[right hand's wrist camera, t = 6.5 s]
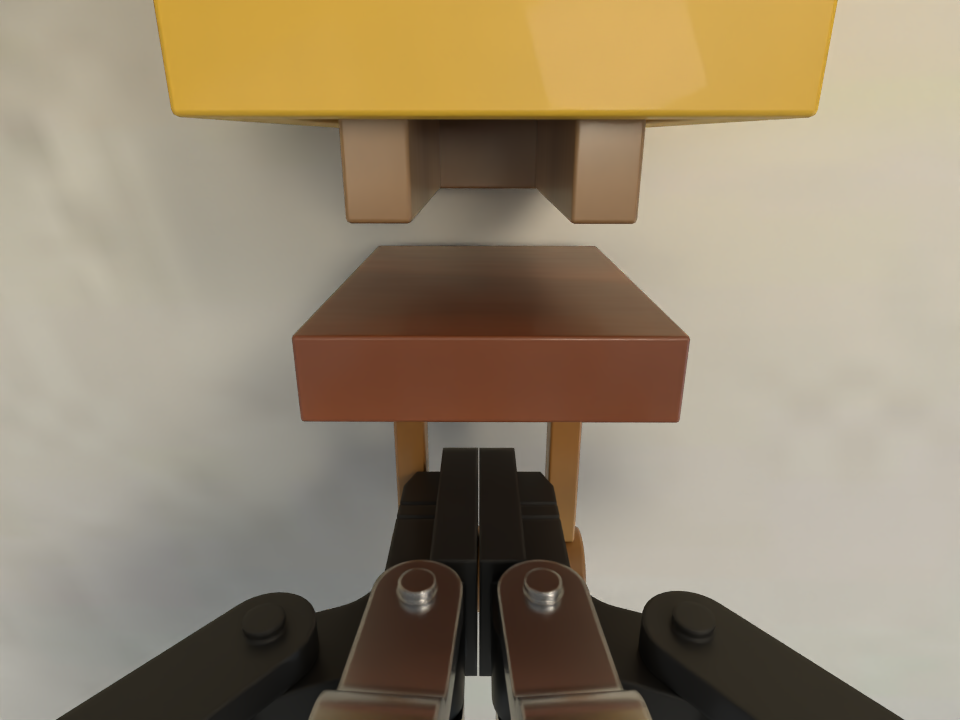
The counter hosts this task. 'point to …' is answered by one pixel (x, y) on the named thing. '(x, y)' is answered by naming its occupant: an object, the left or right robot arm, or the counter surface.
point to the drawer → (492, 298)
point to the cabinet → (494, 59)
